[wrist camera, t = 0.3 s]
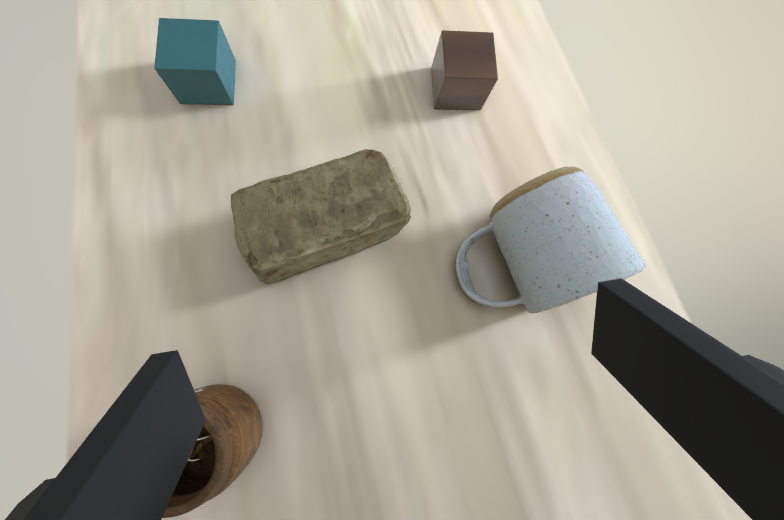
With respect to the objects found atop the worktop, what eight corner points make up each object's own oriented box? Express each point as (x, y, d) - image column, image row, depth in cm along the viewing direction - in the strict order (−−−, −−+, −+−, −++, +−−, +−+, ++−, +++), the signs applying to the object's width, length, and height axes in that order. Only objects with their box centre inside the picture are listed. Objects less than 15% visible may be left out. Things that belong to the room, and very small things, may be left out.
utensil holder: (283, 415, 26) (228, 476, 15) (222, 501, 25) (105, 646, 13) (214, 364, 26) (104, 384, 15) (149, 447, 25) (-30, 541, 13)
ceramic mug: (549, 188, 32) (609, 142, 24) (598, 280, 30) (676, 261, 23) (433, 237, 30) (457, 204, 22) (479, 336, 29) (521, 336, 21)
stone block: (409, 234, 30) (419, 214, 25) (263, 291, 28) (243, 281, 23) (380, 168, 31) (384, 135, 26) (236, 219, 29) (212, 194, 24)
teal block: (233, 104, 30) (215, 70, 27) (180, 103, 30) (154, 68, 26) (235, 60, 31) (218, 20, 27) (183, 58, 31) (158, 17, 27)
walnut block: (481, 110, 32) (498, 78, 29) (434, 109, 32) (445, 77, 28) (477, 68, 33) (493, 32, 29) (431, 66, 33) (441, 29, 29)
